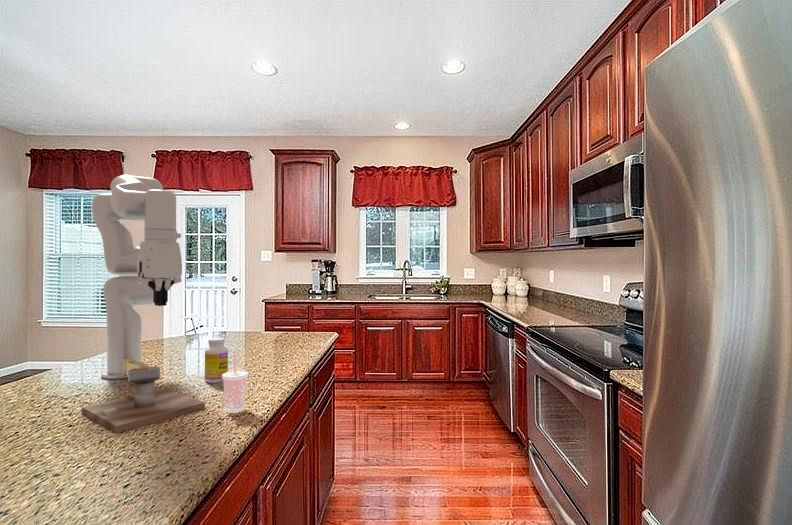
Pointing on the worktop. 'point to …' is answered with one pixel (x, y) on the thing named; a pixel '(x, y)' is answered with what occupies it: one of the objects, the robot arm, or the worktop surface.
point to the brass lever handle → (139, 371)
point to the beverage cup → (234, 389)
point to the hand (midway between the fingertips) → (160, 305)
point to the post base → (141, 408)
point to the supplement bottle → (216, 360)
